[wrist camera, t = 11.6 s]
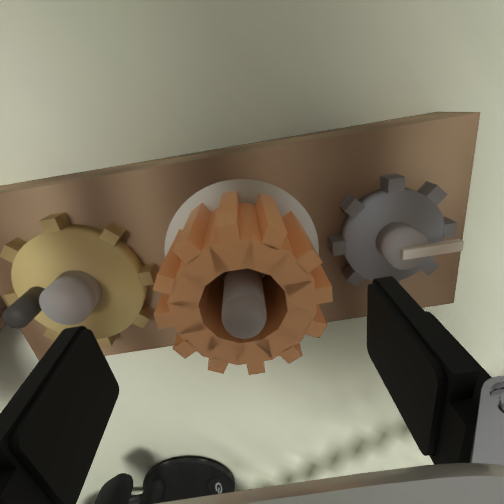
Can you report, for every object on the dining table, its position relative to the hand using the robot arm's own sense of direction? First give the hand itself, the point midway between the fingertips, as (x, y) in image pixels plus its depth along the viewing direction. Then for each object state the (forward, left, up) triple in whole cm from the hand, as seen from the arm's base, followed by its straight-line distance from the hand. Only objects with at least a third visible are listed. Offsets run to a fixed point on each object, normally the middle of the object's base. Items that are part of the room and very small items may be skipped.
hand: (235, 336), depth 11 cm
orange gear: (+1, 0, -7) cm, 7 cm away
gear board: (+1, 0, -11) cm, 11 cm away
